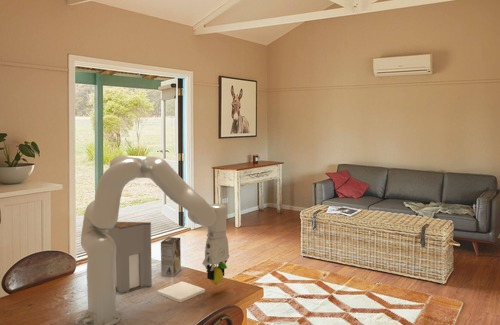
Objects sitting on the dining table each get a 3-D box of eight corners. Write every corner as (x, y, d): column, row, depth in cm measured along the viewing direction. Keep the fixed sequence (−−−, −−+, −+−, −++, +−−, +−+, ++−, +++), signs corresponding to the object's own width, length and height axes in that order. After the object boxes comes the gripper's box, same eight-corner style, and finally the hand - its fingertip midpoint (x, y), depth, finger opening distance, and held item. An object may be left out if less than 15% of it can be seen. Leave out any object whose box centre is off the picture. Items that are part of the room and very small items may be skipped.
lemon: (227, 283, 180) (227, 260, 179) (218, 288, 175) (219, 264, 174) (214, 280, 183) (214, 257, 182) (205, 285, 178) (205, 261, 177)
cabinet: (151, 285, 187) (150, 222, 185) (145, 294, 178) (144, 227, 175) (103, 284, 188) (102, 221, 185) (95, 293, 178) (93, 227, 176)
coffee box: (168, 269, 208) (168, 236, 207) (181, 270, 207) (180, 237, 205) (160, 275, 199) (160, 241, 198) (174, 277, 198) (173, 242, 197)
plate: (180, 302, 170) (180, 299, 170) (157, 293, 179) (156, 290, 179) (205, 291, 181) (205, 289, 181) (182, 283, 190) (182, 281, 190)
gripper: (208, 239, 168) (208, 285, 170) (237, 232, 182) (236, 274, 183) (195, 236, 173) (194, 280, 174) (223, 229, 186) (223, 270, 188)
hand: (215, 276), depth 179 cm, fingers closed on lemon, 5 cm apart
